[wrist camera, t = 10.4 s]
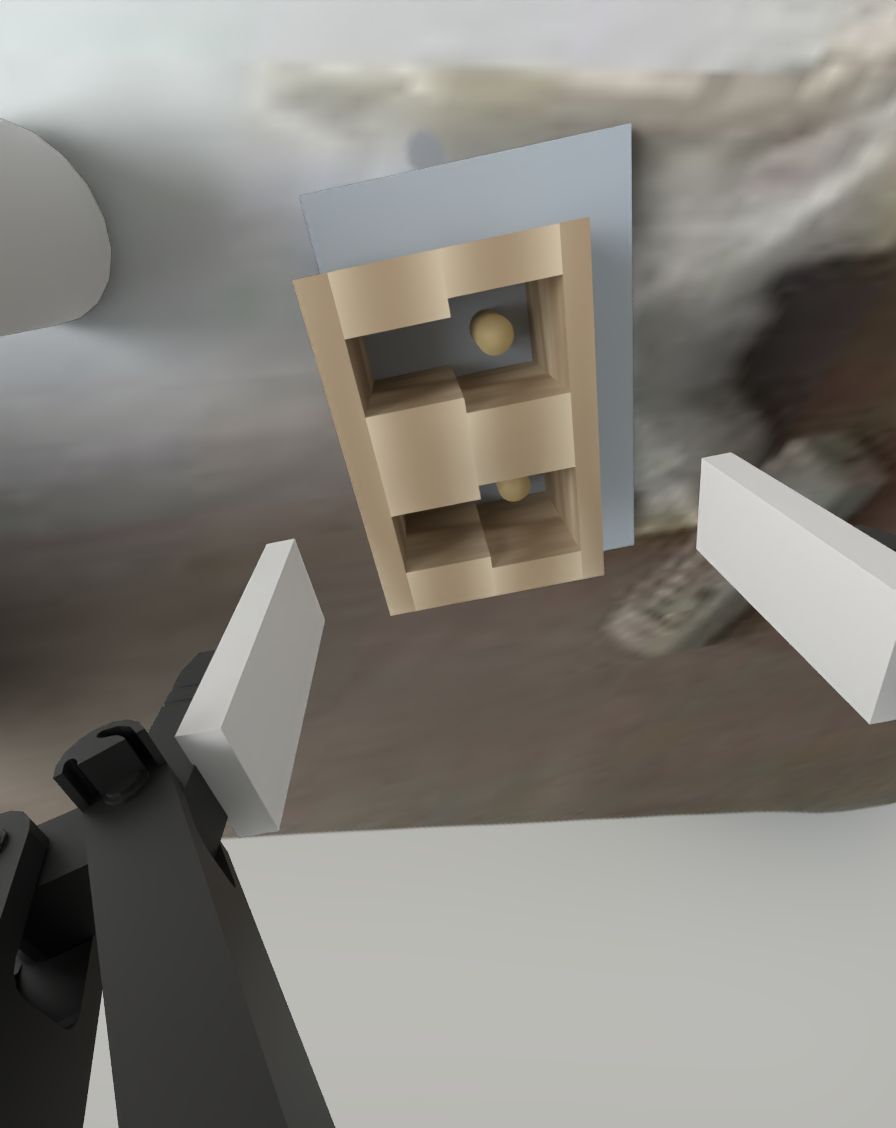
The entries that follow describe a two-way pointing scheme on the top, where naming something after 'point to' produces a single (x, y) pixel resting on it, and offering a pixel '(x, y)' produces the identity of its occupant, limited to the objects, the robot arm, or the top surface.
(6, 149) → the can
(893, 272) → the top surface
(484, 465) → the wooden cubby shelf
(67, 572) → the top surface
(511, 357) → the panel
